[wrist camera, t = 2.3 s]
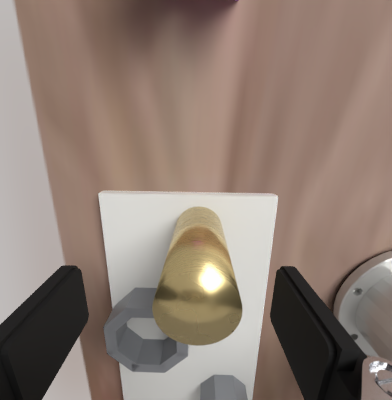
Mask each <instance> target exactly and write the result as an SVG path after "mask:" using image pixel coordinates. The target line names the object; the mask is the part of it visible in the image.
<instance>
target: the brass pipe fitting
mask: <svg viewBox="0 0 392 400" xmlns="http://www.w3.org/2000/svg"><path fill="white" fill-rule="evenodd" d="M152 311H153V316H154V319H155V322H156V324H157V325H158V327H159V328H160V329H161V330H162V332H163V333H165V334H166V335H167V336H168V337H170V338H171V339H173V340H175V341H178V342H180V343H183V344H187V345H195V346H201V345H209V344H213V343H216V342H219V341H221V340H223V339H225V338H226V337H228V336H229V335H230V334H232V333H233V331H234V330H235V329H236V328H237V326H238V325H239V323H240V321H241V317H242V312H243V310H242V302H241V298H240V294H239V290H238V286H237V282H236V278H235V274H234V271H233V267H232V263H231V259H230V255H229V251H228V247H227V243H226V239H225V236H224V232H223V228H222V224H221V221H220V218H219V217H218V215H217V214H216V213H215V212H214V211H212V210H211V209H208V208H206V207H192V208H189V209H187V210H186V211H184V212H183V213H182V214H181V215H180V216H179V218H178V220H177V223H176V226H175V230H174V233H173V236H172V240H171V243H170V247H169V250H168V253H167V257H166V260H165V263H164V267H163V270H162V273H161V277H160V280H159V283H158V287H157V290H156V293H155V297H154V300H153V305H152Z"/></svg>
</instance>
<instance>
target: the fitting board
mask: <svg viewBox="0 0 392 400" xmlns="http://www.w3.org/2000/svg"><path fill="white" fill-rule="evenodd" d="M98 195H99V203H100V211H101V219H102V227H103V236H104V244H105V252H106V260H107V268H108V276H109V284H110V292H111V300H112V308H113V310H112V312H111V314H110V316H109V318H108V320H107V321H106V323H105V325H104V327H103V328H104V335H105V342H106V349H107V354H108V355H110V356H111V357H112V358H114V359H115V360H117V361H118V362H119V365H120V373H121V381H122V389H123V398H124V400H252V397H253V389H254V381H255V374H256V366H257V358H258V350H259V342H260V335H261V327H262V319H263V311H264V304H265V296H266V288H267V280H268V273H269V265H270V257H271V249H272V242H273V234H274V226H275V218H276V210H277V203H278V196H277V195H275V194H271V193H215V192H158V191H102V192H100V193H98ZM192 207H206V208H208V209H211V210H212V211H214V212H215V213H216V214H217V215H218V217H219V218H220V221H221V224H222V228H223V232H224V236H225V239H226V243H227V247H228V251H229V255H230V259H231V263H232V267H233V271H234V274H235V278H236V282H237V286H238V290H239V294H240V298H241V302H242V310H243V312H242V317H241V321H240V323H239V325H238V326H237V328H236V329H235V330H234V331H233V333H232V334H230V335H229V336H228V337H226V338H225V339H223V340H221V341H219V342H216V343H213V344H209V345H201V346H195V345H187V344H183V343H180V342H178V341H175V340H173V339H171V338H170V337H168V336H167V335H166V334H165V333H163V332H162V330H161V329H160V328H159V327H158V325H157V324H156V322H155V319H154V316H153V311H152V305H153V300H154V297H155V293H156V290H157V287H158V283H159V280H160V277H161V273H162V270H163V267H164V263H165V260H166V257H167V253H168V250H169V247H170V243H171V240H172V236H173V233H174V230H175V226H176V223H177V220H178V218H179V216H180V215H181V214H182V213H183V212H184V211H186V210H187V209H189V208H192Z"/></svg>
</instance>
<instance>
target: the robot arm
mask: <svg viewBox="0 0 392 400" xmlns="http://www.w3.org/2000/svg"><path fill="white" fill-rule="evenodd" d="M88 317H89V313H88V307H87V301H86V296H85V290H84V284H83V279H82V273H81V270H80V269H78V267H77V266H61V267H60V268H59V269H58V270H57V271H56V272H55V273H54V274H53V275H52V276H51V277H50V278H48V279H47V280H46V281H45V282H44V283H43V284H42V285H41V286H40V287H39V288H38V289H37V290H36V291H35V292H34V293H33V294H32V295H31V296H30V297H29V298H28V299H27V300H26V301H25V302H23V304H21V306H19V307H18V308H17V309H16V310H15V311H14V312H13V313H12V314H11V315H10V316H9V317H8V318H7V319H6V320H5V321H4V322H3V323H2V324H1V325H0V400H42V398H43V397H44V395H45V393H46V392H47V390H48V388H49V386H50V385H51V383H52V381H53V380H54V378H55V376H56V374H57V373H58V371H59V369H60V368H61V366H62V364H63V362H64V361H65V359H66V357H67V356H68V354H69V352H70V350H71V349H72V347H73V345H74V344H75V342H76V340H77V338H78V337H79V335H80V333H81V332H82V330H83V328H84V326H85V325H86V323H87V321H88ZM270 318H271V322H272V325H273V327H274V329H275V332H276V334H277V336H278V339H279V341H280V343H281V346H282V348H283V350H284V353H285V355H286V357H287V360H288V362H289V364H290V367H291V369H292V371H293V374H294V376H295V378H296V381H297V383H298V385H299V388H300V390H301V393H302V395H303V397H304V400H392V251H389V252H386V253H383V254H381V255H378V256H376V257H374V258H372V259H370V260H369V261H367V262H366V263H364V264H362V265H361V266H359V267H358V268H357V269H356V270H355V271H354V272H353V273H352V274H350V275H349V277H348V278H347V279H346V280H345V282H344V283H343V284H342V286H341V288H340V290H339V292H338V293H337V296H336V299H335V302H334V310H333V313H332V312H331V311H330V310H329V308H328V307H327V306H326V305H325V303H324V302H323V301H322V300H321V299H320V298H319V297H318V295H317V294H316V293H315V292H314V290H313V289H312V288H311V286H310V285H309V284H308V283H307V281H306V280H305V279H304V278H303V276H302V275H301V274H300V273H299V271H298V270H297V269H296V268H295V267H293V266H282V267H281V268H280V270H277V272H276V279H275V285H274V292H273V299H272V306H271V312H270ZM366 355H368V356H371V357H367V356H366Z"/></svg>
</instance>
